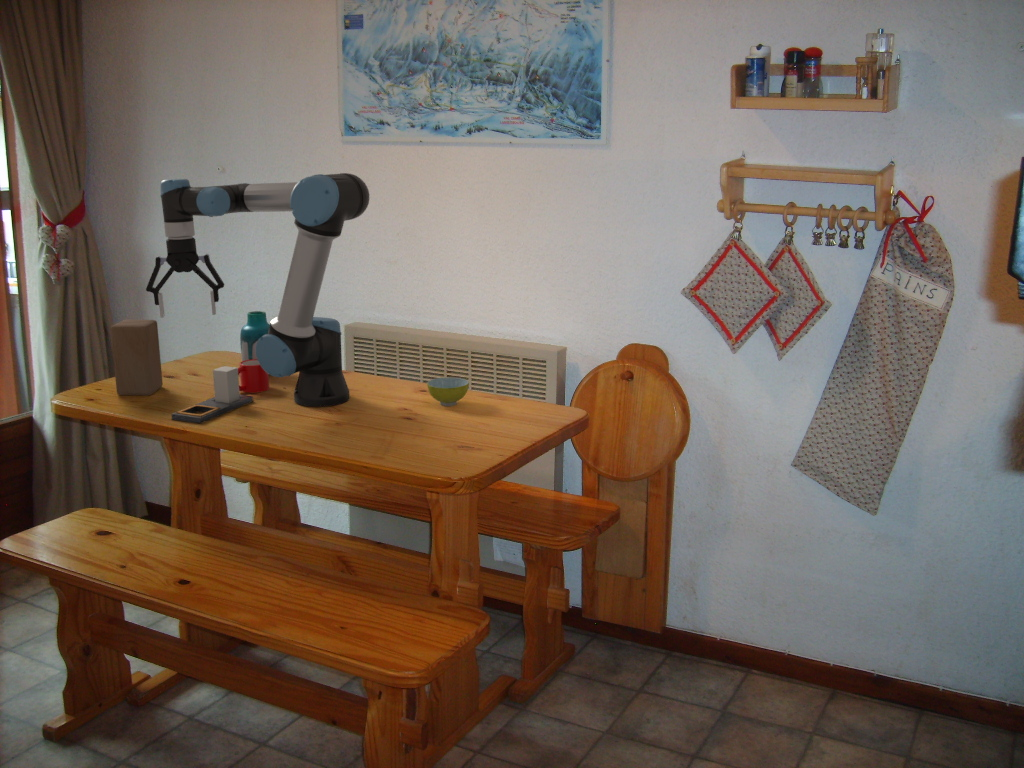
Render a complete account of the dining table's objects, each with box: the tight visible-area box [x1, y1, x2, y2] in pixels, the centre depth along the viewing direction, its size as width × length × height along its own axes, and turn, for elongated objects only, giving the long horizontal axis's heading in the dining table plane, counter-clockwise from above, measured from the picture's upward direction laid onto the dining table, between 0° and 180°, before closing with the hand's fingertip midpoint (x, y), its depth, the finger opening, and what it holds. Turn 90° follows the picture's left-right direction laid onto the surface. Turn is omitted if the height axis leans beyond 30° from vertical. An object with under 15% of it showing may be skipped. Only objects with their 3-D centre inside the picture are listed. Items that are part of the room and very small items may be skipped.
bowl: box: [426, 377, 470, 407], centre depth 266 cm, size 11×12×6 cm
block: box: [110, 318, 163, 396], centre depth 274 cm, size 10×10×20 cm
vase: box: [239, 310, 270, 362], centre depth 293 cm, size 11×11×19 cm
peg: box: [212, 365, 241, 403], centre depth 264 cm, size 5×5×10 cm
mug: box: [237, 359, 270, 393], centre depth 278 cm, size 8×12×8 cm, turn 150°
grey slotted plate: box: [171, 394, 254, 424], centre depth 259 cm, size 9×22×2 cm, turn 158°
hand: (188, 315), depth 267 cm, fingers open, 13 cm apart
